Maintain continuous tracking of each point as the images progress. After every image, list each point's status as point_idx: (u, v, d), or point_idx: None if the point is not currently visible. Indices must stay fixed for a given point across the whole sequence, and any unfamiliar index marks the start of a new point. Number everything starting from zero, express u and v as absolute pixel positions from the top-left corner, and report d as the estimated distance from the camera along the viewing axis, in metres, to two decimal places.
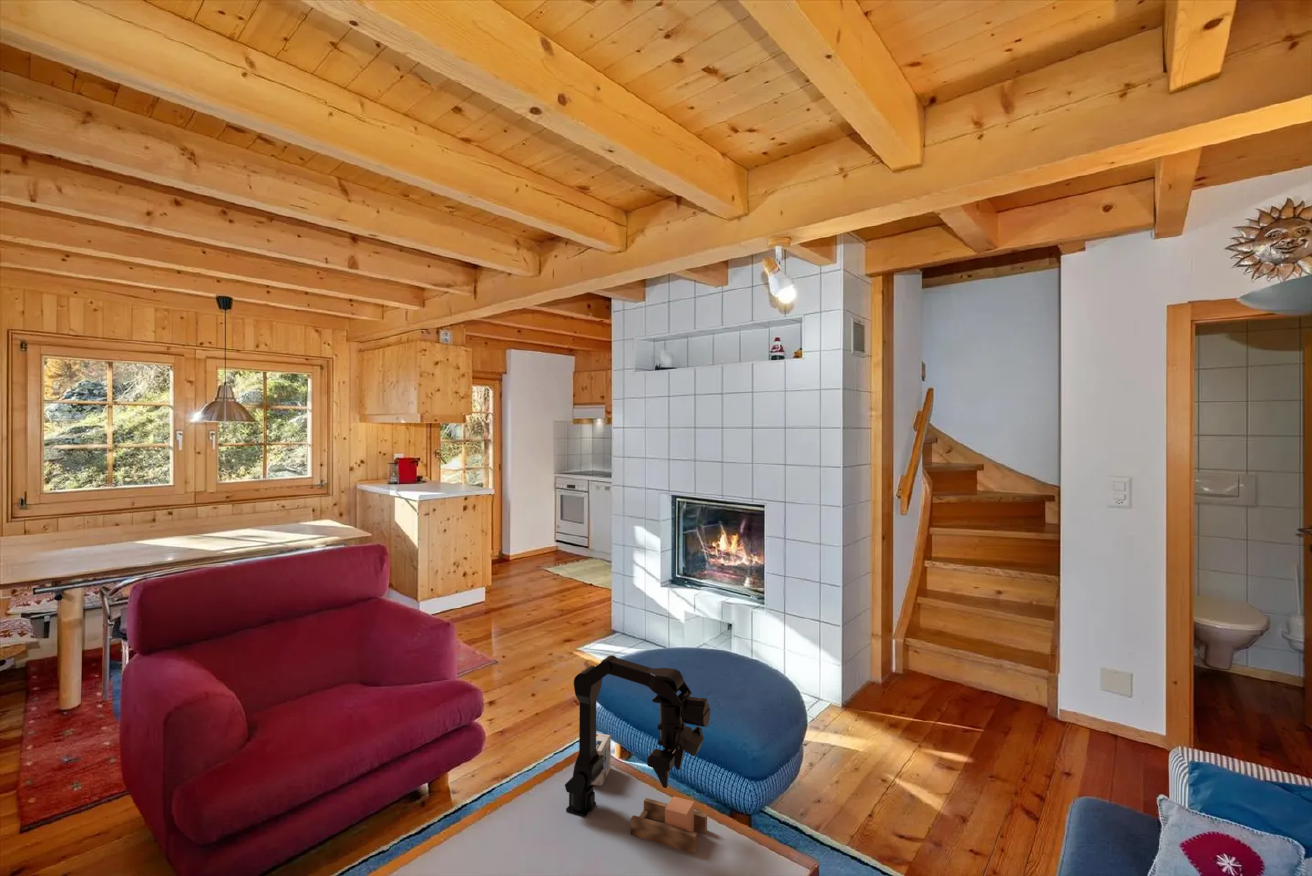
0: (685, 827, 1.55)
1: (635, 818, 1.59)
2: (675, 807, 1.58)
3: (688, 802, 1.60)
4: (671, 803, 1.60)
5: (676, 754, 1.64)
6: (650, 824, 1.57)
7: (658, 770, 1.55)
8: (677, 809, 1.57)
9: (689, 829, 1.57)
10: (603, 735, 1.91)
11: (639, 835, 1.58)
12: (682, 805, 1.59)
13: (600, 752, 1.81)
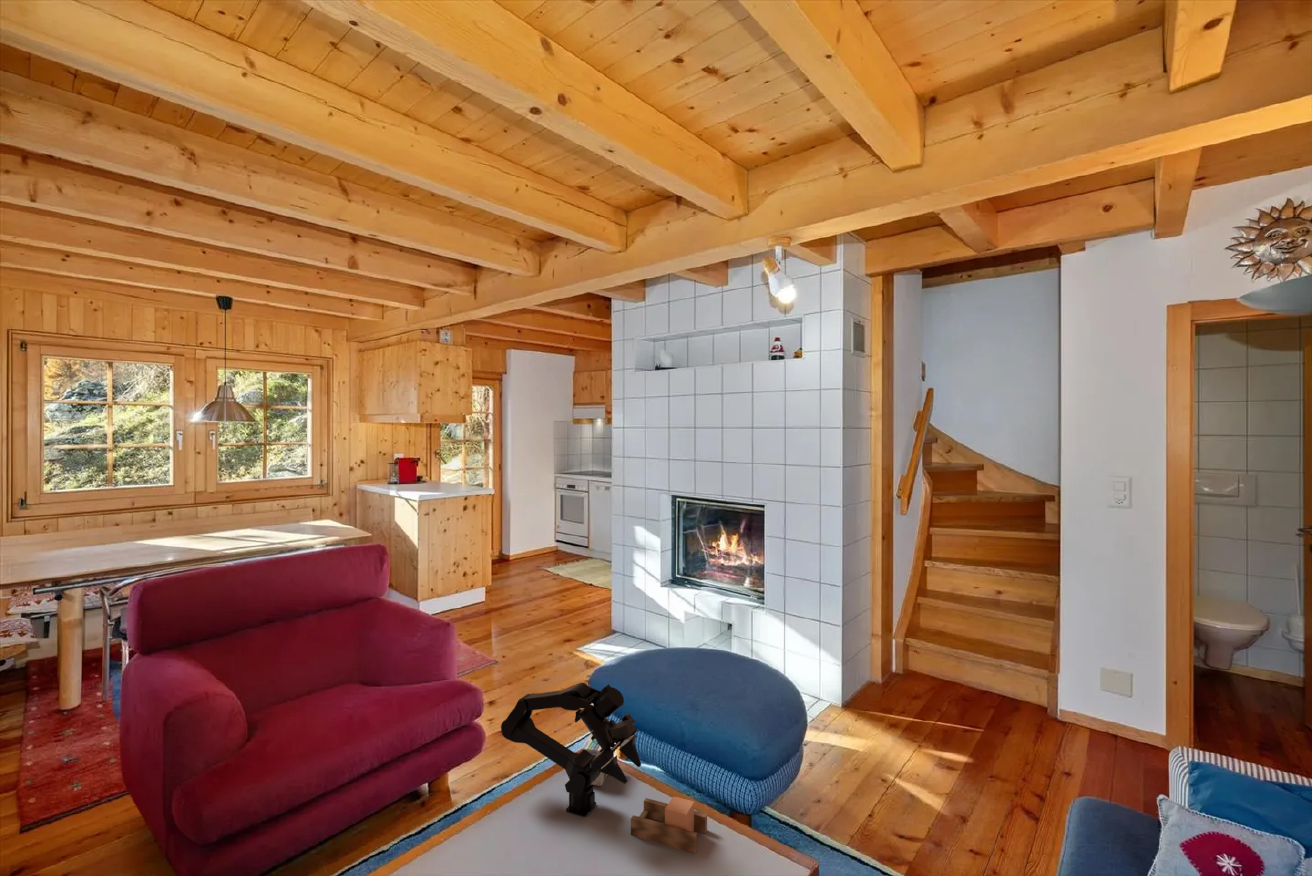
0: (685, 827, 1.55)
1: (635, 818, 1.59)
2: (675, 807, 1.58)
3: (688, 802, 1.60)
4: (671, 803, 1.60)
5: (630, 754, 1.70)
6: (650, 824, 1.57)
7: (609, 771, 1.61)
8: (677, 809, 1.57)
9: (689, 829, 1.57)
10: None
11: (639, 835, 1.58)
12: (682, 805, 1.59)
13: (600, 752, 1.81)
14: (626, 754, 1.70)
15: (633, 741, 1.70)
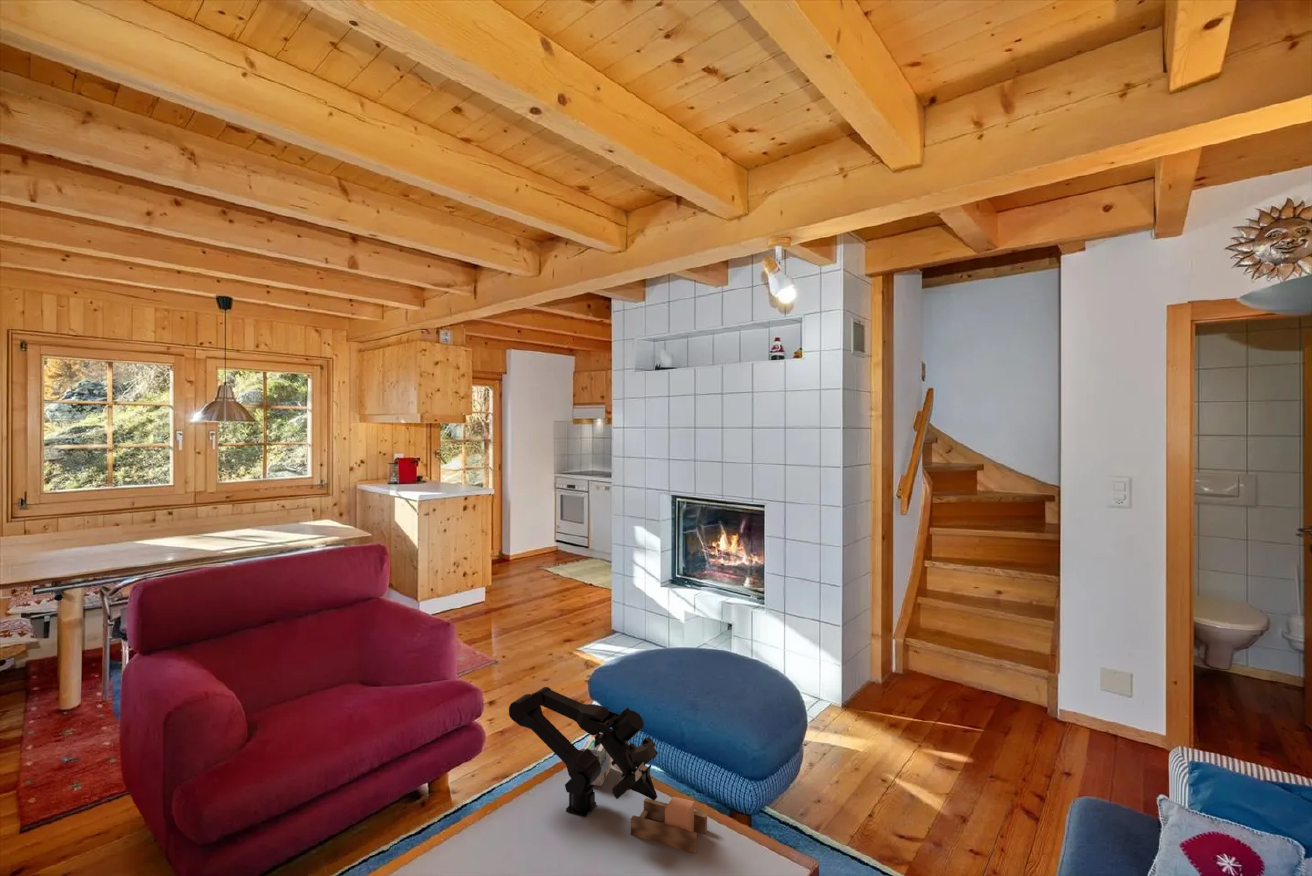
0: (685, 827, 1.55)
1: (635, 818, 1.59)
2: (675, 807, 1.58)
3: (688, 802, 1.60)
4: (671, 803, 1.60)
5: None
6: (650, 824, 1.57)
7: (638, 788, 1.62)
8: (677, 809, 1.57)
9: (689, 829, 1.57)
10: None
11: (639, 835, 1.58)
12: (682, 805, 1.59)
13: (600, 752, 1.81)
14: None
15: (648, 772, 1.64)
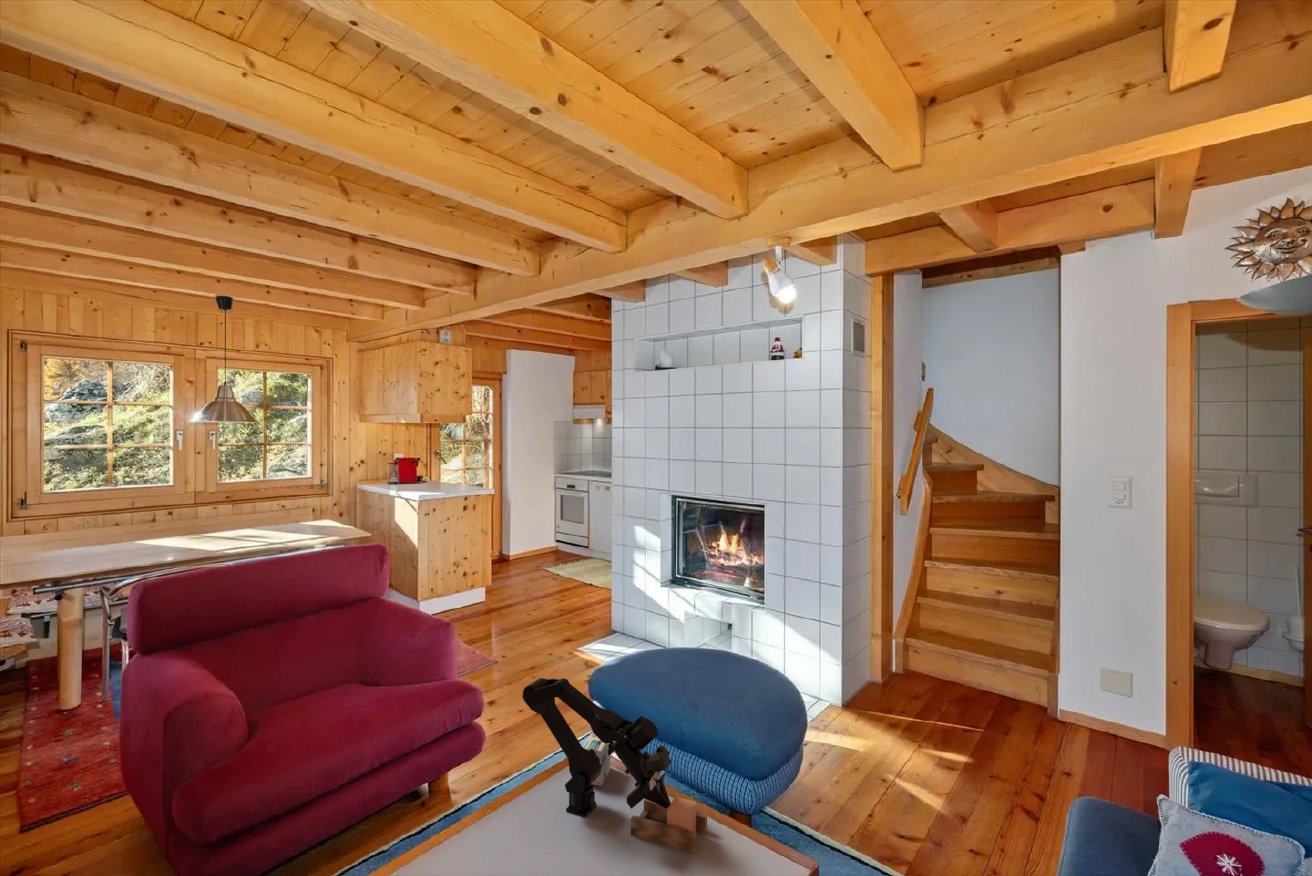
0: (687, 828, 1.55)
1: (635, 818, 1.59)
2: (677, 808, 1.58)
3: (690, 803, 1.60)
4: (673, 804, 1.59)
5: None
6: (650, 824, 1.57)
7: (652, 797, 1.60)
8: (679, 809, 1.57)
9: (691, 830, 1.57)
10: None
11: (639, 835, 1.58)
12: (684, 806, 1.59)
13: (600, 752, 1.81)
14: None
15: (662, 781, 1.62)
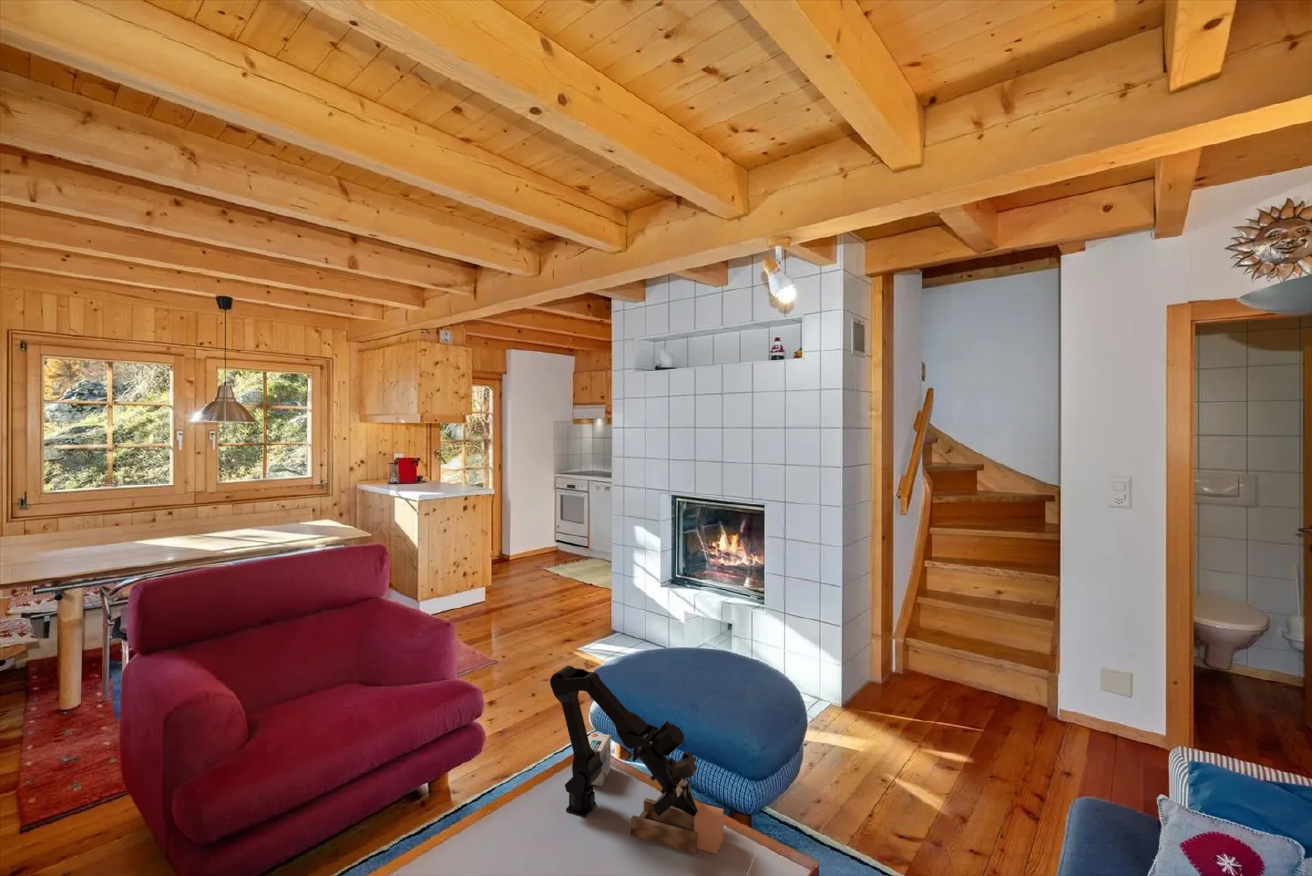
0: (715, 835, 1.52)
1: (635, 818, 1.59)
2: (704, 815, 1.55)
3: (717, 810, 1.57)
4: (700, 811, 1.56)
5: None
6: (650, 824, 1.57)
7: (679, 804, 1.57)
8: (706, 817, 1.54)
9: (719, 837, 1.54)
10: (603, 735, 1.91)
11: (639, 835, 1.58)
12: (711, 813, 1.56)
13: (600, 752, 1.81)
14: None
15: (688, 788, 1.59)
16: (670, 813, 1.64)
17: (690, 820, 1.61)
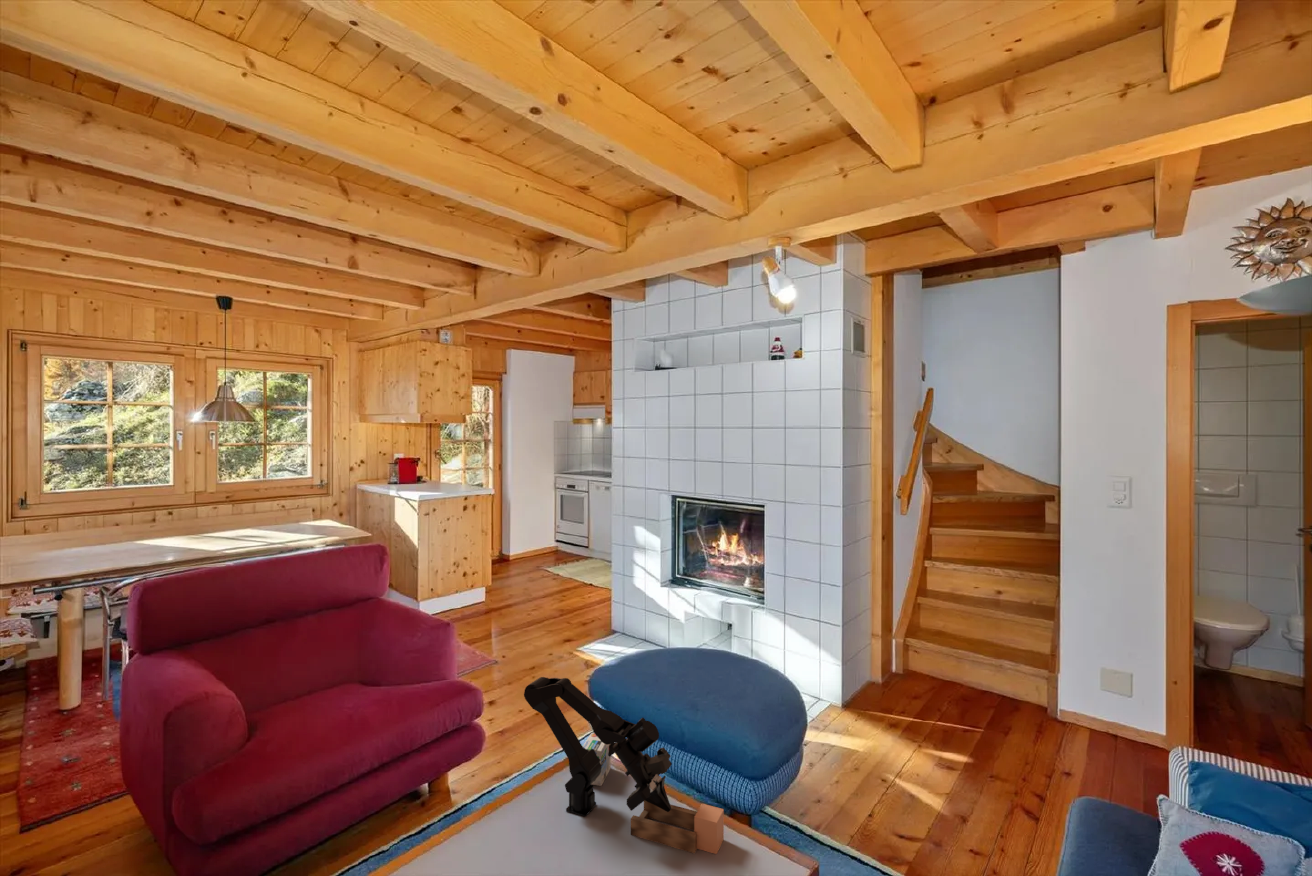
0: (715, 835, 1.52)
1: (635, 818, 1.59)
2: (704, 815, 1.55)
3: (717, 810, 1.57)
4: (700, 811, 1.56)
5: None
6: (650, 824, 1.57)
7: (652, 799, 1.60)
8: (707, 817, 1.54)
9: (719, 837, 1.54)
10: None
11: (639, 835, 1.58)
12: (711, 813, 1.55)
13: (600, 752, 1.81)
14: None
15: (662, 783, 1.62)
16: (670, 813, 1.64)
17: (690, 820, 1.61)
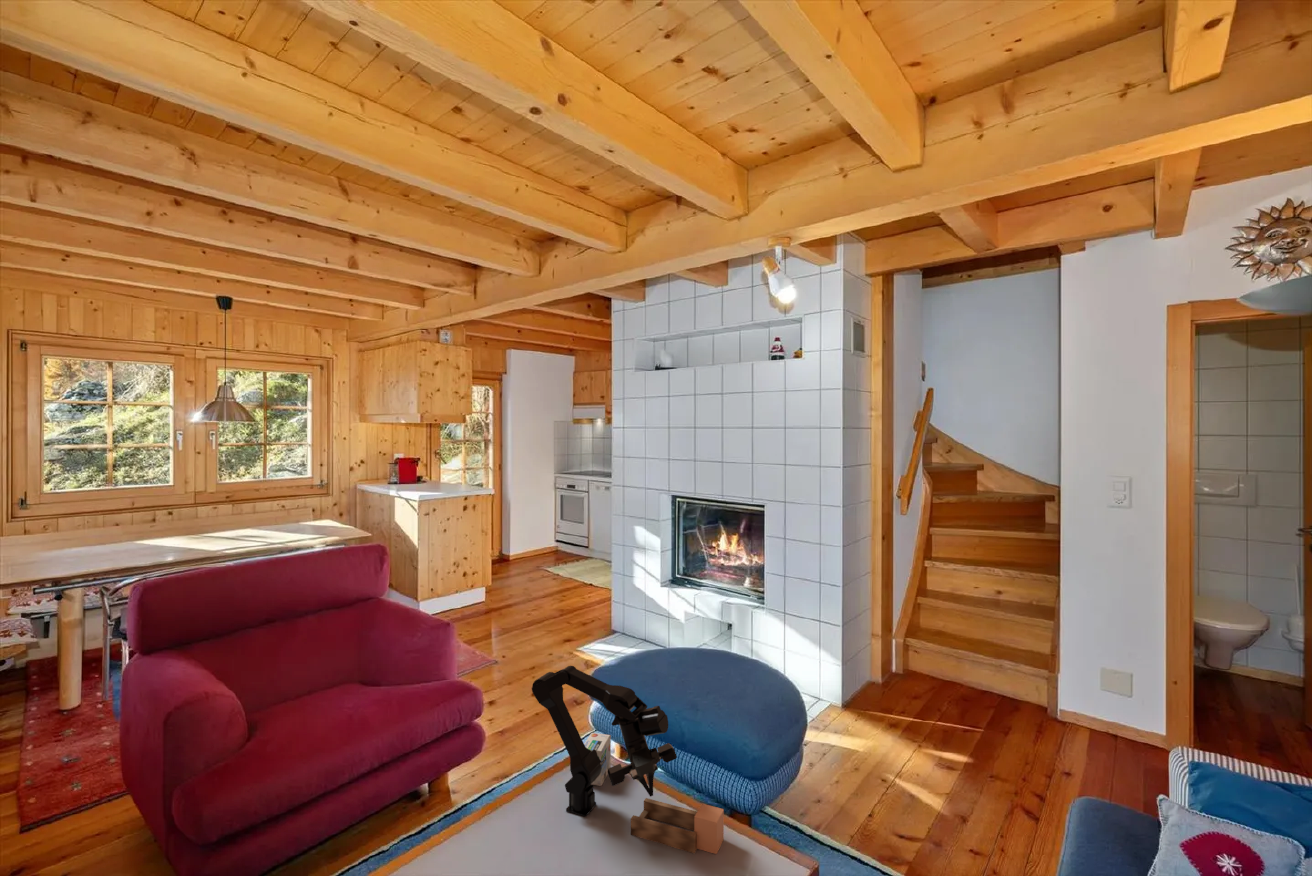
0: (715, 835, 1.52)
1: (635, 818, 1.59)
2: (704, 815, 1.55)
3: (717, 810, 1.57)
4: (700, 811, 1.56)
5: (647, 779, 1.63)
6: (650, 824, 1.57)
7: None
8: (707, 817, 1.54)
9: (719, 837, 1.54)
10: (603, 735, 1.91)
11: (639, 835, 1.58)
12: (711, 813, 1.55)
13: (600, 752, 1.81)
14: (646, 775, 1.64)
15: (650, 774, 1.61)
16: (670, 813, 1.64)
17: (690, 820, 1.61)
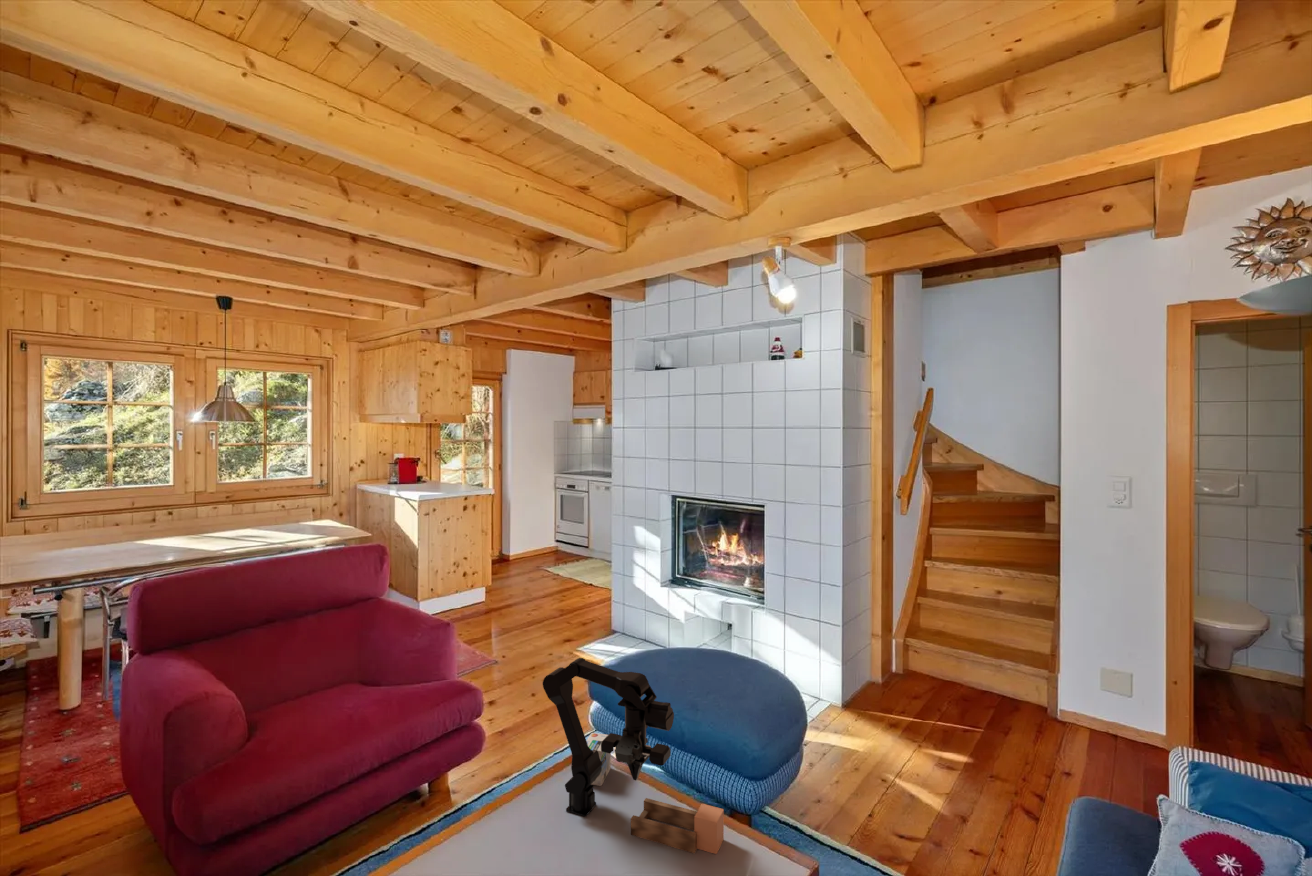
0: (715, 835, 1.52)
1: (635, 818, 1.59)
2: (704, 815, 1.55)
3: (717, 810, 1.57)
4: (700, 811, 1.56)
5: None
6: (650, 824, 1.57)
7: None
8: (707, 817, 1.54)
9: (719, 837, 1.54)
10: (603, 735, 1.91)
11: (639, 835, 1.58)
12: (711, 813, 1.55)
13: (600, 752, 1.81)
14: None
15: (636, 762, 1.61)
16: (670, 813, 1.64)
17: (690, 820, 1.61)
